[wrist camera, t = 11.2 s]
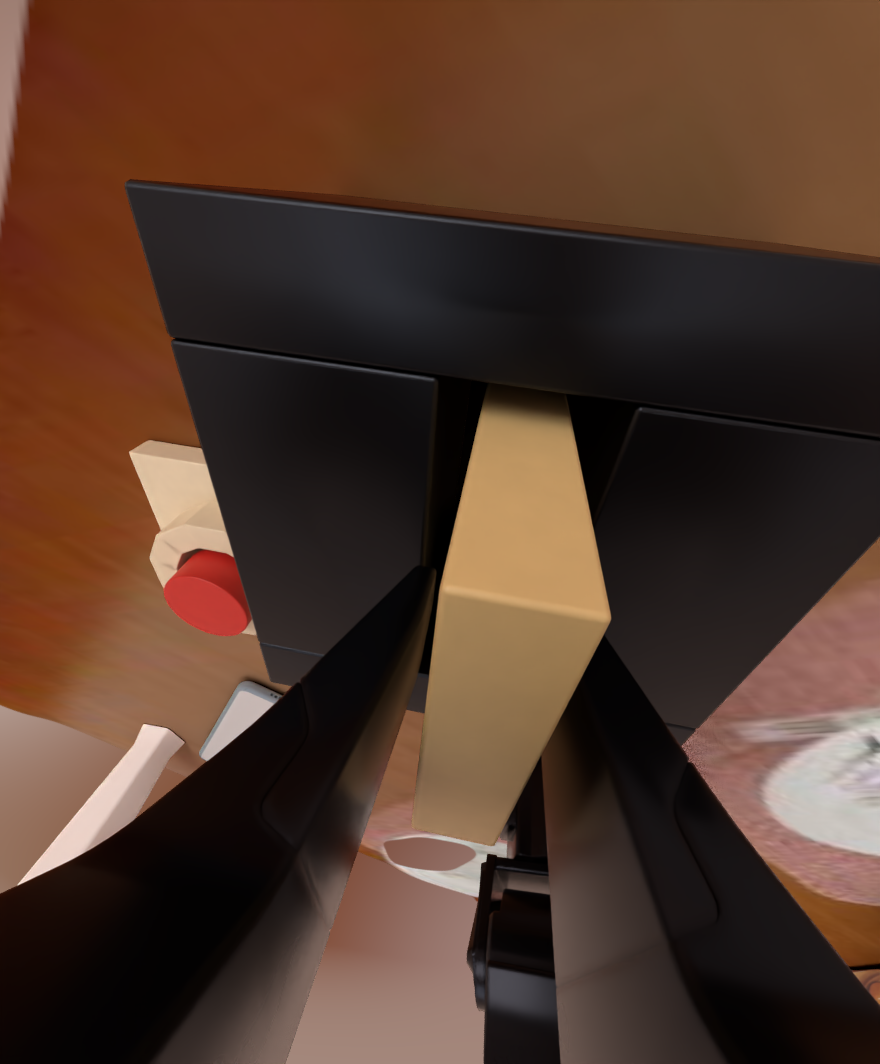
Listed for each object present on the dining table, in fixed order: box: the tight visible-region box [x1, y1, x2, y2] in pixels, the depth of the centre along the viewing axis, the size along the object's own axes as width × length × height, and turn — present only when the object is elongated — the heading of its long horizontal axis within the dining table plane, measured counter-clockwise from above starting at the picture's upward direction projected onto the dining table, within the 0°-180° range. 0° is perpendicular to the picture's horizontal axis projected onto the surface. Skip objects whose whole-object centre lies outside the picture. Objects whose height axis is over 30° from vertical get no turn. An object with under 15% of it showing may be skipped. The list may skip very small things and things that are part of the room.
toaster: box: [125, 179, 880, 746], centre depth 12 cm, size 12×12×8 cm
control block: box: [129, 440, 257, 635], centre depth 20 cm, size 10×8×3 cm
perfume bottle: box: [18, 724, 185, 885], centre depth 32 cm, size 5×4×15 cm
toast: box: [412, 383, 611, 846], centre depth 8 cm, size 6×2×6 cm, turn 175°
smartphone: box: [199, 681, 283, 761], centre depth 34 cm, size 8×1×15 cm
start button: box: [164, 550, 252, 636], centre depth 18 cm, size 4×4×2 cm
